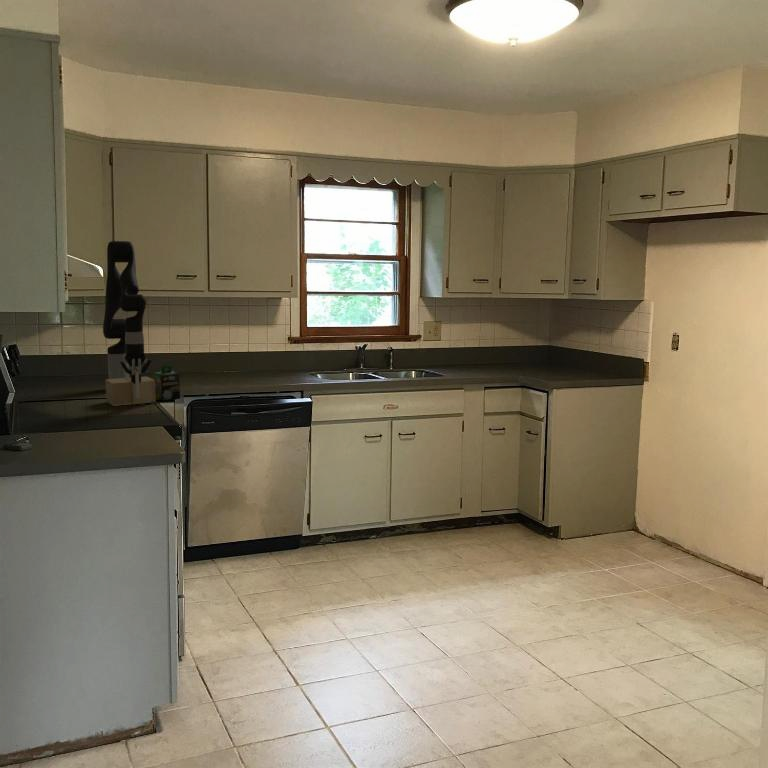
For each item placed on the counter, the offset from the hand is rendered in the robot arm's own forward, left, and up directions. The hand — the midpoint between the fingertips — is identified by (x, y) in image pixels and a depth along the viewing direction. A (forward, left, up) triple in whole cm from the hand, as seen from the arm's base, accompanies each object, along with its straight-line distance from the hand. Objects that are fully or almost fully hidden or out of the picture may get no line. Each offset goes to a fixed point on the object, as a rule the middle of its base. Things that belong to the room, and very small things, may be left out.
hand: (136, 383), depth 349 cm
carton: (-10, 0, -10) cm, 14 cm away
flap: (0, +3, -10) cm, 10 cm away
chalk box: (-14, +17, -10) cm, 24 cm away
